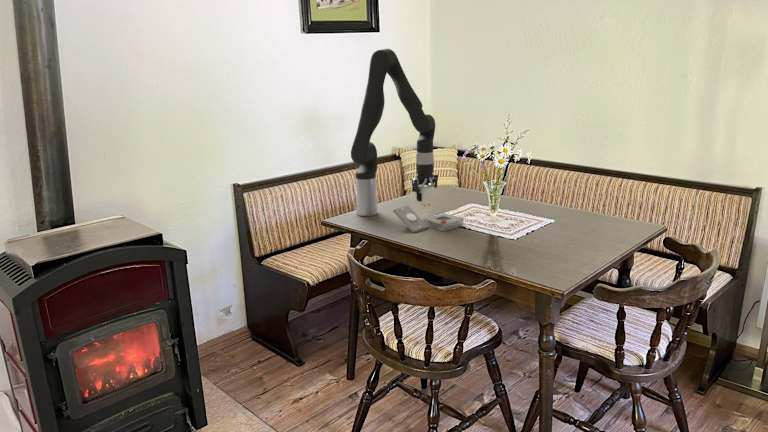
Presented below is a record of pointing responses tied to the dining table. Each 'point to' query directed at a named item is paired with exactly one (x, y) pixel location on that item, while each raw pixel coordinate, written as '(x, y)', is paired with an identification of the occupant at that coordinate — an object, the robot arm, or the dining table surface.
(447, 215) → the socket
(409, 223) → the light switch
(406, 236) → the dining table surface
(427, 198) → the plug
